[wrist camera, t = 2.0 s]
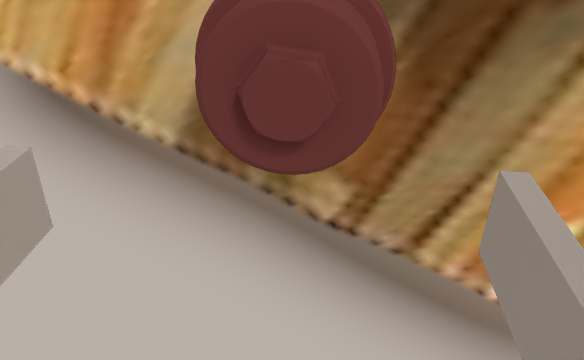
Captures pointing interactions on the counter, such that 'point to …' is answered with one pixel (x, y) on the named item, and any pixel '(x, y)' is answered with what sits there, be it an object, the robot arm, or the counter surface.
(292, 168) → the mechanical component
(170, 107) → the counter surface
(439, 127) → the counter surface
